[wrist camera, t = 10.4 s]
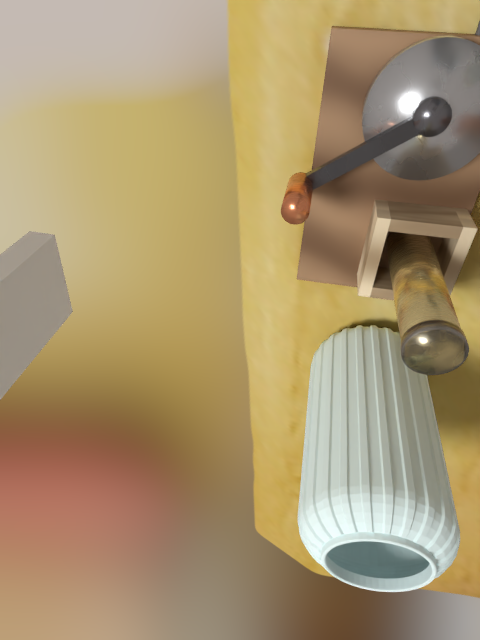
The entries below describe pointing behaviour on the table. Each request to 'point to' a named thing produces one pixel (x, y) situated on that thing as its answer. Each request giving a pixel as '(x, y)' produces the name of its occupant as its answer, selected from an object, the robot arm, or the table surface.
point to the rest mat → (478, 29)
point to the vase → (374, 467)
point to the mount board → (369, 178)
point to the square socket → (419, 221)
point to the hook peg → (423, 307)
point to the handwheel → (409, 120)
